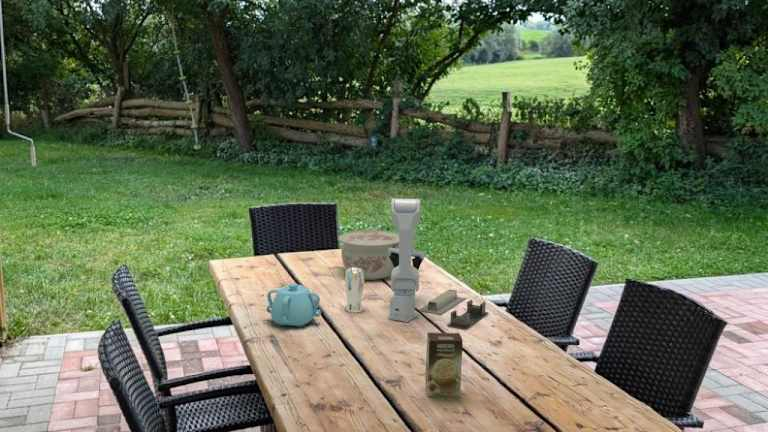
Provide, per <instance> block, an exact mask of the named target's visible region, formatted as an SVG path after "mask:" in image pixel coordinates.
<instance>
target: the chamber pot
mask: <svg viewBox="0 0 768 432" xmlns="http://www.w3.org/2000/svg"><path fill="white" fill-rule="evenodd" d="M337 237H338V238H337V240H338V241H339V242H341V244H343V245H342V247H341V253H340V254H341V255H340V256H341V261H342V264H343V266H344V268H345V270H346V269H348V268H361V269H363V270H364V281H379V280H383V279H385V278H388V277H391V274H392V270H393V269H394V266H393V264H392V261H391V259H390V258H389V256H390V255H391V254H388V249H389V248H399V234H398V233H397V232H392V231H386V230H379V229H377V230H376V229H375V228H372V227H368V228H367V227H366V228H365V229H364V230H354V231H348V232H345V233H342V234H339V236H337Z"/></svg>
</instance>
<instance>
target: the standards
mask: <svg viewBox="0 0 768 432" xmlns="http://www.w3.org/2000/svg"><path fill="white" fill-rule="evenodd" d="M486 305H487V302H485V301H483V302H481V303H480V305H477V304H473V299H470V300H468V301H466V311H465V312H464V313H462V314H461V315H457V314H458V313H457V310H452V311H451V312H450V322H449V323H448V324H447V325H446V327H447V326H448V327H447V328H452V329H458V330H463V331H467V330H468V329H470V328H471V327H472V326H474V325H475V324H476V323H478V322H479V321H481V320H482V319H484V318H485V317H486V316H488V315H489V312H488V311H486Z"/></svg>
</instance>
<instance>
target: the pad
mask: <svg viewBox="0 0 768 432" xmlns="http://www.w3.org/2000/svg"><path fill="white" fill-rule="evenodd" d="M465 300H467V298H466V297H460V296H456V299H454V300H453V301H451V302H450V303H448V304H446V305H445V306H443V307H442V308H440V309H438V310H437V311H431V310H428V304H426V305H424V306H423V307H421V308H420V309H418V312H421V313H426V314H427V313H428V314H432V315H440V316H442V315H444V314H445V313H446V312H448V311H449V310H451V309H453V308H454V307H456V306H457V305H459V304H461V303H462V302H464V301H465Z"/></svg>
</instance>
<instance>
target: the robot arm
mask: <svg viewBox="0 0 768 432" xmlns="http://www.w3.org/2000/svg"><path fill="white" fill-rule="evenodd" d="M390 216H391V220H390V221H391V224H392V225H391V226H393V227H395V228H396V229H397V234H399V248H389V249H388V254H391V255H390V256H389V258H390V259H391V261H392V264H393V266H394V269H393V270H392V274H391V275H390V290H391V291H392V292H394V293H393V296H392V297H391V299H390V303H389V316H387V319H389V320H395V321H399V322H405V323H407V322H410V321H411V320H413V319H415V318H416V317H419V316H420V313H419V312H416V311H415V309H416V292H419V289H420V288H419V287H420V273H419V272H420V271H419V270H420V267H421V264H422V262H423V261H424V259H425V258H426V252H424V251H420V250H416V249H415V231H416V230H415V228H417V227H418V226H419V224H420V222H421V221H420V219H421V218H420V216H421V199H420V198H395V197H393V198H392V199H391V202H390Z"/></svg>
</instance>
